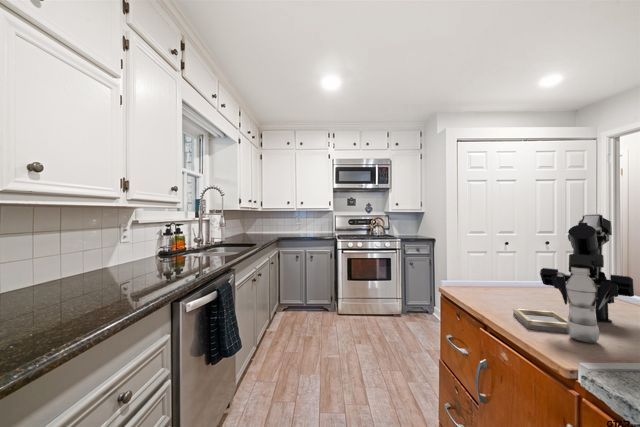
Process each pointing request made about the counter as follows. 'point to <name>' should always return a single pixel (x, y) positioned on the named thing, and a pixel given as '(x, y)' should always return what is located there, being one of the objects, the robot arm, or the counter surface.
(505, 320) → the counter surface
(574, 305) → the plastic bottle
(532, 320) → the beige flat square frame
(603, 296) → the robot arm
